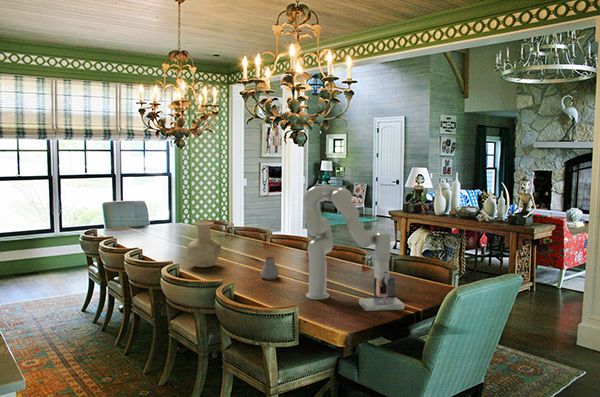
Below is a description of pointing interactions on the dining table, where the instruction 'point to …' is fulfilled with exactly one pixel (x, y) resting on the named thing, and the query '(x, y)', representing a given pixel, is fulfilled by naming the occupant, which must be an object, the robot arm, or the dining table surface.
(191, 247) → the vase
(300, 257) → the dining table surface
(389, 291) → the small box
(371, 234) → the robot arm
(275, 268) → the coffee pot
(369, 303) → the white rectangular slab
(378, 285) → the square peg
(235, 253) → the dining table surface
